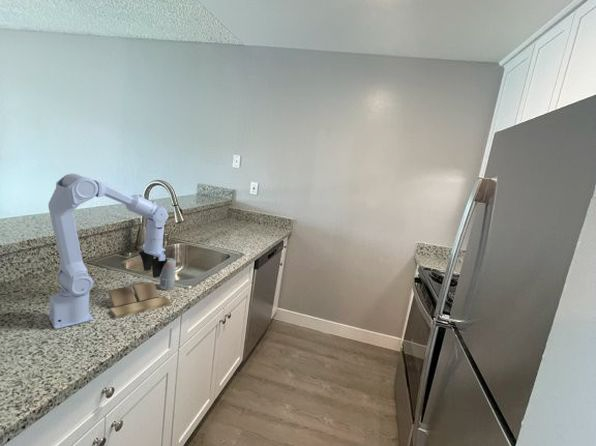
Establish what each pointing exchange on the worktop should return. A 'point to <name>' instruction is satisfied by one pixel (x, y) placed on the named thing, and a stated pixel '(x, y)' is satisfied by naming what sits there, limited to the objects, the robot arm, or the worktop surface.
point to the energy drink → (168, 275)
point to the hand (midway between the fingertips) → (151, 273)
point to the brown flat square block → (122, 296)
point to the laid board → (139, 307)
